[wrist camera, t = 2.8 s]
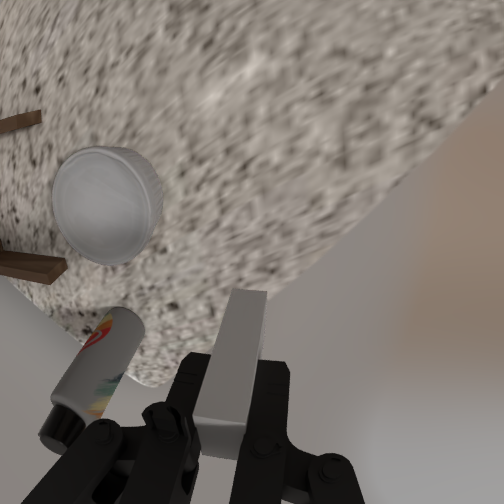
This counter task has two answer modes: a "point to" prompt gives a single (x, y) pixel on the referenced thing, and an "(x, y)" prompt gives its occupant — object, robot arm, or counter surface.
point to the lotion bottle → (91, 378)
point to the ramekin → (107, 203)
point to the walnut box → (24, 263)
